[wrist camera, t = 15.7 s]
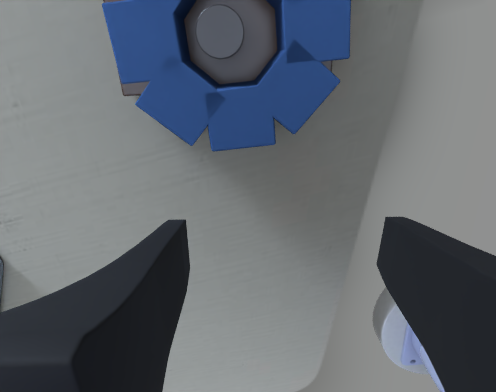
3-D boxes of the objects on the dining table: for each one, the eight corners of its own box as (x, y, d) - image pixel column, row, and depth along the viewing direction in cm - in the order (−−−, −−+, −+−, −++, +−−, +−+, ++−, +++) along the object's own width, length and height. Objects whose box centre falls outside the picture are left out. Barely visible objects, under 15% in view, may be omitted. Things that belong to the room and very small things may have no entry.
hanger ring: (332, -108, 14) (354, -145, 11) (332, 125, 18) (348, 137, 15) (102, -80, 14) (72, -110, 11) (154, 145, 18) (140, 160, 15)
